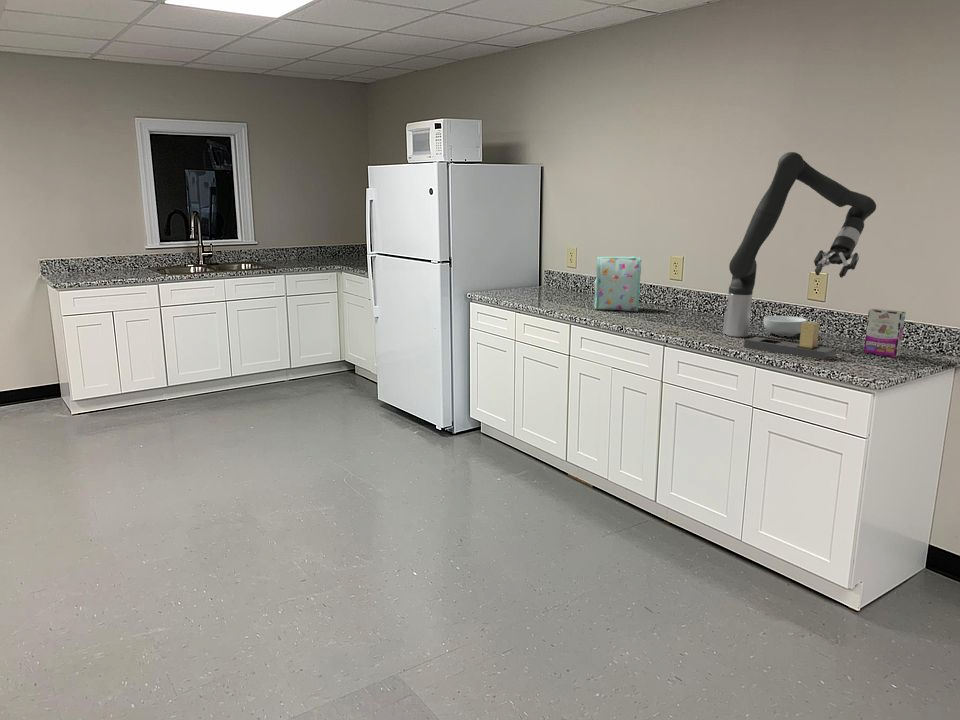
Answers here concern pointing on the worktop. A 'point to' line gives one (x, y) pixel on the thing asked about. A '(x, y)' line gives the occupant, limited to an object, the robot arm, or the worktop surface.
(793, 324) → the cereal bowl
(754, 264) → the robot arm
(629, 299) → the lunch bag
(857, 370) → the worktop surface
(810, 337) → the brass peg
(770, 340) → the grey peg board
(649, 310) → the worktop surface
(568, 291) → the worktop surface
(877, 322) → the candy bar box
